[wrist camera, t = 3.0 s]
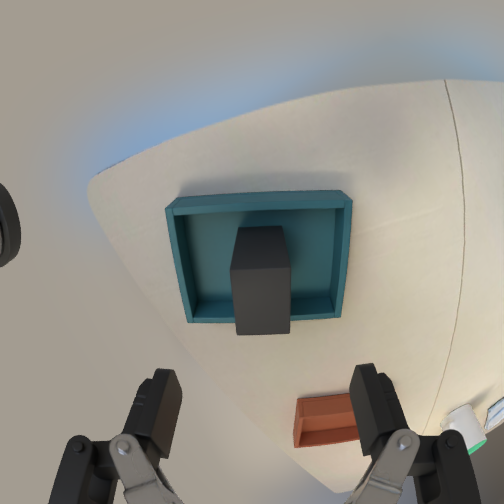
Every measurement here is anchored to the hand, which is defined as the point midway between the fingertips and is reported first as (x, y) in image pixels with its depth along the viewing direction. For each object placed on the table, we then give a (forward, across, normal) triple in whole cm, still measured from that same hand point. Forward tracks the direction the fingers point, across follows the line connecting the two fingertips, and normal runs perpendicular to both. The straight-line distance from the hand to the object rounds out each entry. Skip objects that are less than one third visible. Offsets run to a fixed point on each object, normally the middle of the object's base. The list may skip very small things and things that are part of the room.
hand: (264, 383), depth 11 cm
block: (+13, 0, 0) cm, 13 cm away
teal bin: (+14, 0, 0) cm, 14 cm away
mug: (+14, -39, +40) cm, 58 cm away
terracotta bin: (+14, -10, +27) cm, 32 cm away
